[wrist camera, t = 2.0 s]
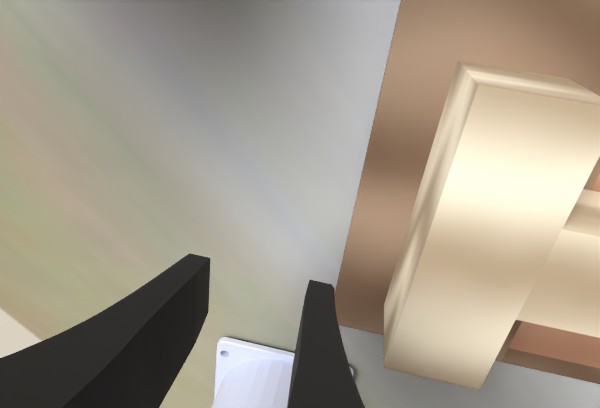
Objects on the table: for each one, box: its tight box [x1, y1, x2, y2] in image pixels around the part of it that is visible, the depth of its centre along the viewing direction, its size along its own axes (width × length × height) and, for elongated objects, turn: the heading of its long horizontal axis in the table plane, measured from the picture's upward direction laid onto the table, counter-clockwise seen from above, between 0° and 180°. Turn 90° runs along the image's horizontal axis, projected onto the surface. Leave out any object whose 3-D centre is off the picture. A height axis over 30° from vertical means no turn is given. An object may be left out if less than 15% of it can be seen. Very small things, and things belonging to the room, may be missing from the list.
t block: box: [384, 61, 600, 390], centre depth 17 cm, size 12×12×4 cm
